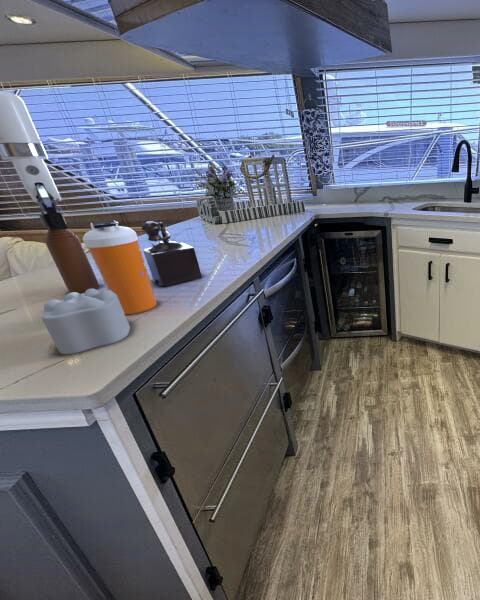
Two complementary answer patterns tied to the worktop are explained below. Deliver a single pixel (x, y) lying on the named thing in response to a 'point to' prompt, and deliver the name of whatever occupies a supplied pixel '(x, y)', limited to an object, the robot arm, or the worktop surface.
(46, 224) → the cap
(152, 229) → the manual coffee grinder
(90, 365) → the worktop surface
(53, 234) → the bottle
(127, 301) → the shaker bottle
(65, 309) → the lumpy-topped squat cylinder
